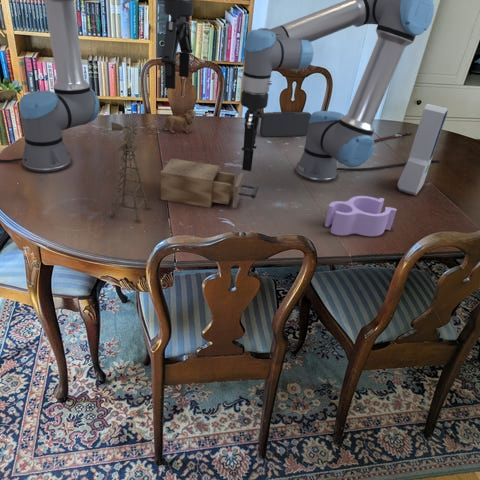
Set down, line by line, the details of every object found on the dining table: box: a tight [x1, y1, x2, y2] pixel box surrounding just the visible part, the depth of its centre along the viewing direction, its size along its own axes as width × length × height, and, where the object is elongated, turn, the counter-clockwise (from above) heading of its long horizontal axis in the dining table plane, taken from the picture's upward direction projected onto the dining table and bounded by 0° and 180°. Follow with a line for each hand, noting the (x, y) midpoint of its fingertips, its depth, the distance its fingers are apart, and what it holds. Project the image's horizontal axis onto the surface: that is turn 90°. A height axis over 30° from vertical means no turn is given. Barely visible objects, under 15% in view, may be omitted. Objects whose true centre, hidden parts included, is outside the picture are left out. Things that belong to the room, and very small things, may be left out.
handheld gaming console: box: [258, 111, 312, 137], centre depth 202 cm, size 23×3×10 cm, turn 108°
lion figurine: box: [161, 109, 197, 134], centre depth 194 cm, size 15×5×9 cm, turn 110°
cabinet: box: [160, 157, 221, 209], centre depth 147 cm, size 16×11×9 cm
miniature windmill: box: [110, 111, 149, 222], centre depth 129 cm, size 9×8×30 cm
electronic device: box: [396, 103, 449, 196], centre depth 162 cm, size 12×8×30 cm, turn 148°
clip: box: [324, 195, 398, 237], centre depth 141 cm, size 20×12×7 cm, turn 109°
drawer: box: [211, 171, 260, 209], centre depth 146 cm, size 20×10×8 cm, turn 80°
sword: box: [373, 132, 414, 143], centre depth 214 cm, size 31×3×1 cm, turn 126°
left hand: (177, 82), depth 131 cm, fingers open, 13 cm apart
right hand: (246, 169), depth 142 cm, fingers closed
